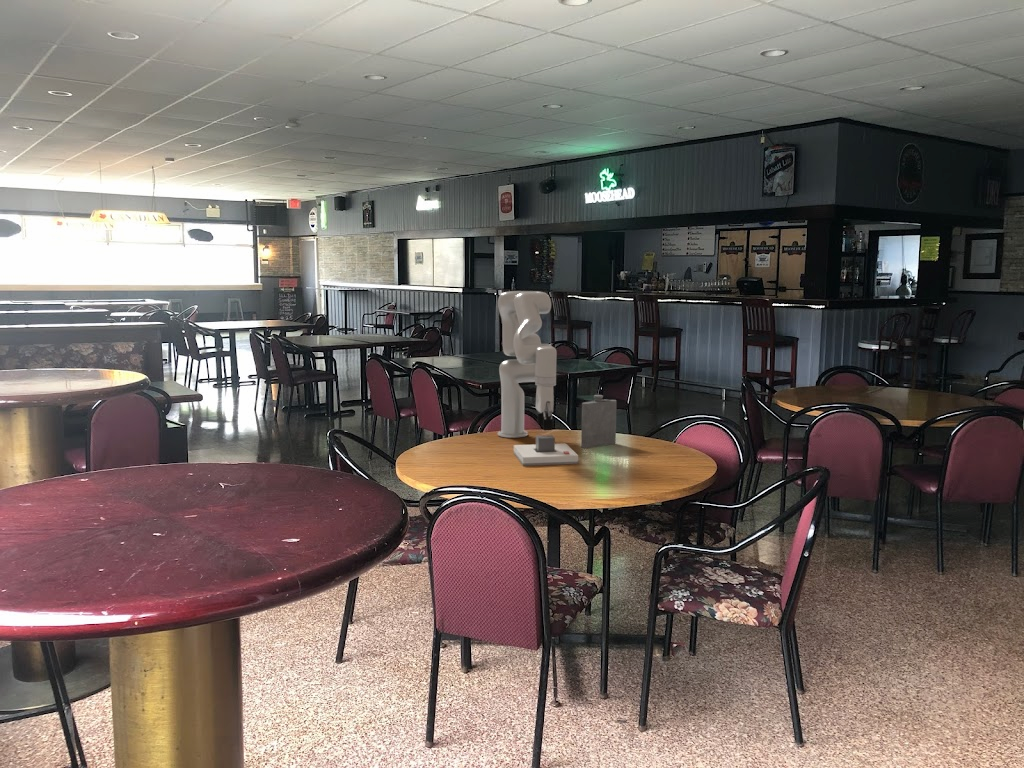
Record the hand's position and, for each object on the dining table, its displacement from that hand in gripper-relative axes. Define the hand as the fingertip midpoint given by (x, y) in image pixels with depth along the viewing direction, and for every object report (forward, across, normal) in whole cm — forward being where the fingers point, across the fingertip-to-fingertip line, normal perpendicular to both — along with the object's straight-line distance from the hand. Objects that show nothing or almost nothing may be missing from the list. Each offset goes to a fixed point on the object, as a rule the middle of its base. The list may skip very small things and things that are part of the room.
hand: (544, 427), depth 293 cm
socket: (+12, +1, 0) cm, 12 cm away
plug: (+11, +1, 0) cm, 11 cm away
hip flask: (+12, -17, +25) cm, 33 cm away
